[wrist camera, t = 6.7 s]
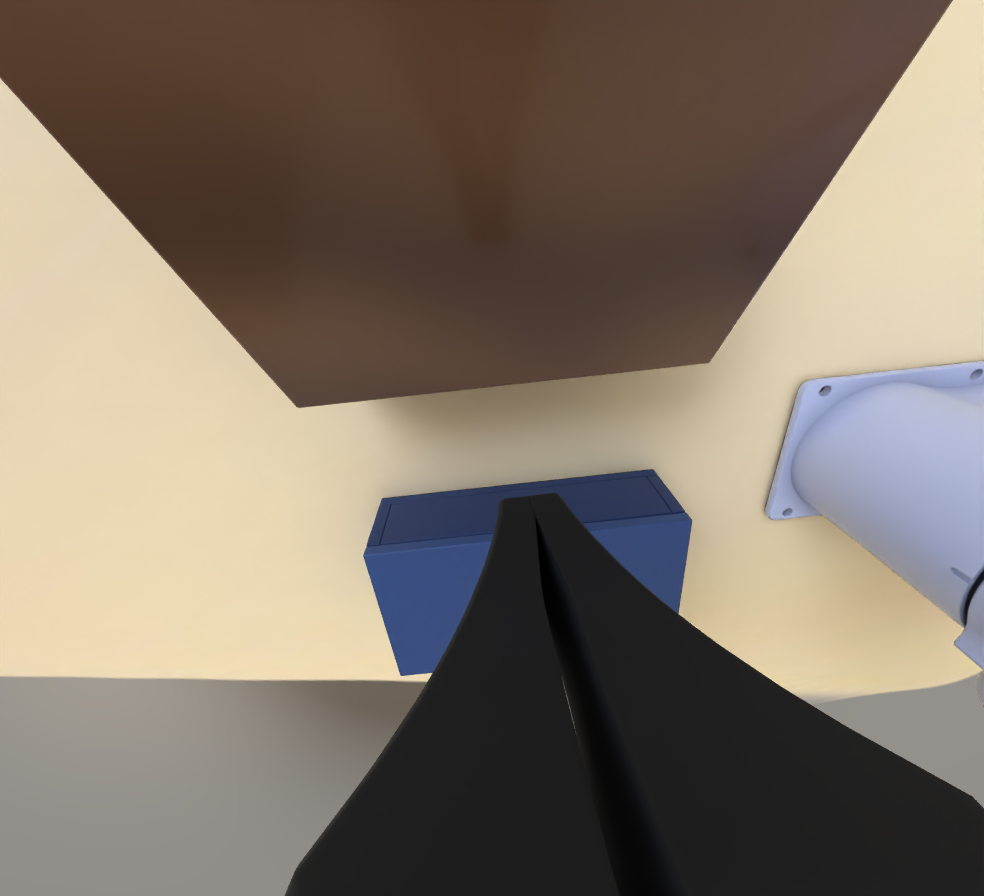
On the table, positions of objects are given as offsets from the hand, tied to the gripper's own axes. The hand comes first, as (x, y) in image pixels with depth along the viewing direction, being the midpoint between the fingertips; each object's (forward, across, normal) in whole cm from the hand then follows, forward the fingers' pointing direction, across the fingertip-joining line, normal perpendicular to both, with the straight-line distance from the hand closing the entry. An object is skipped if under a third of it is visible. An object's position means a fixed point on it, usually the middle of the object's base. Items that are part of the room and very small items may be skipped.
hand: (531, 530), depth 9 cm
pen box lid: (+3, 0, -6) cm, 7 cm away
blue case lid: (+6, 0, +9) cm, 11 cm away
